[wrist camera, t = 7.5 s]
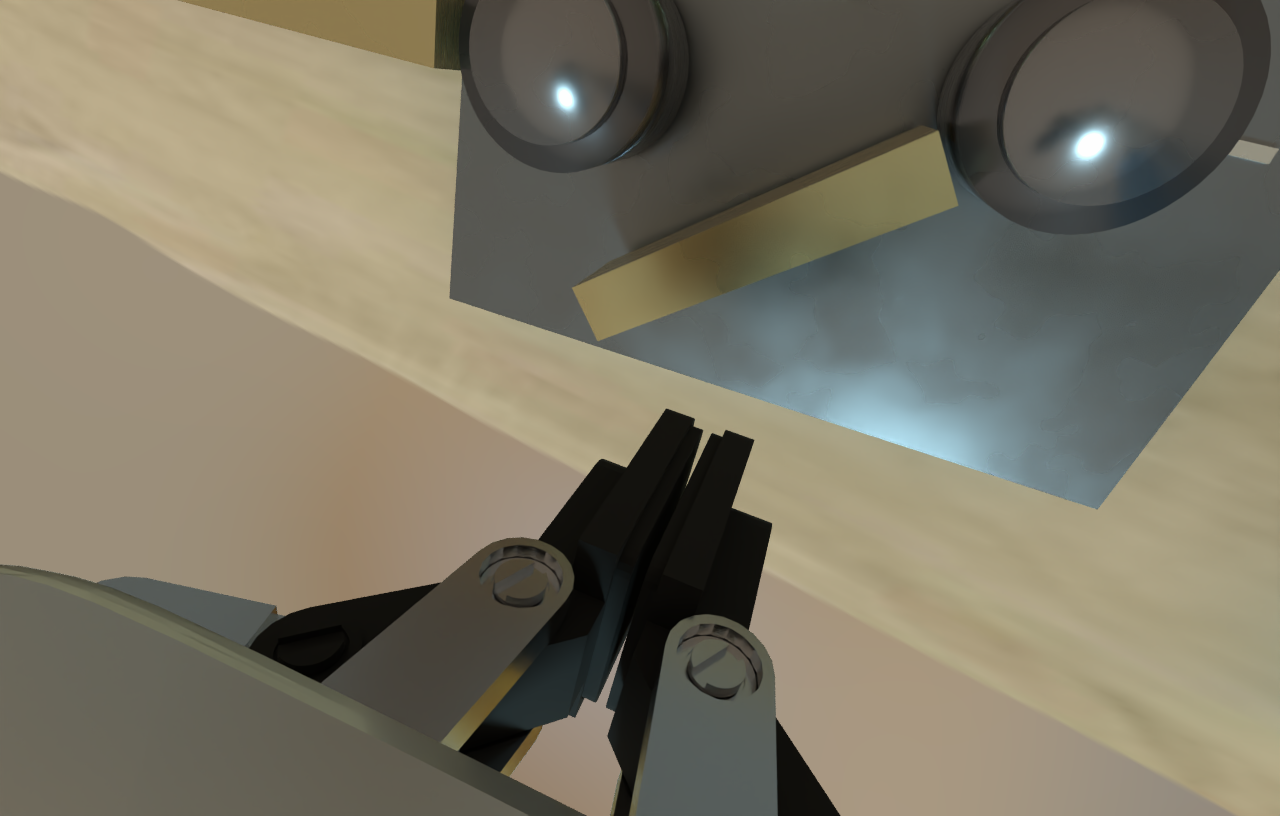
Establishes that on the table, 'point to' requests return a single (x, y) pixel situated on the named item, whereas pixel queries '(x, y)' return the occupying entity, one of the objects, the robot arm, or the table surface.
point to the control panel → (887, 254)
